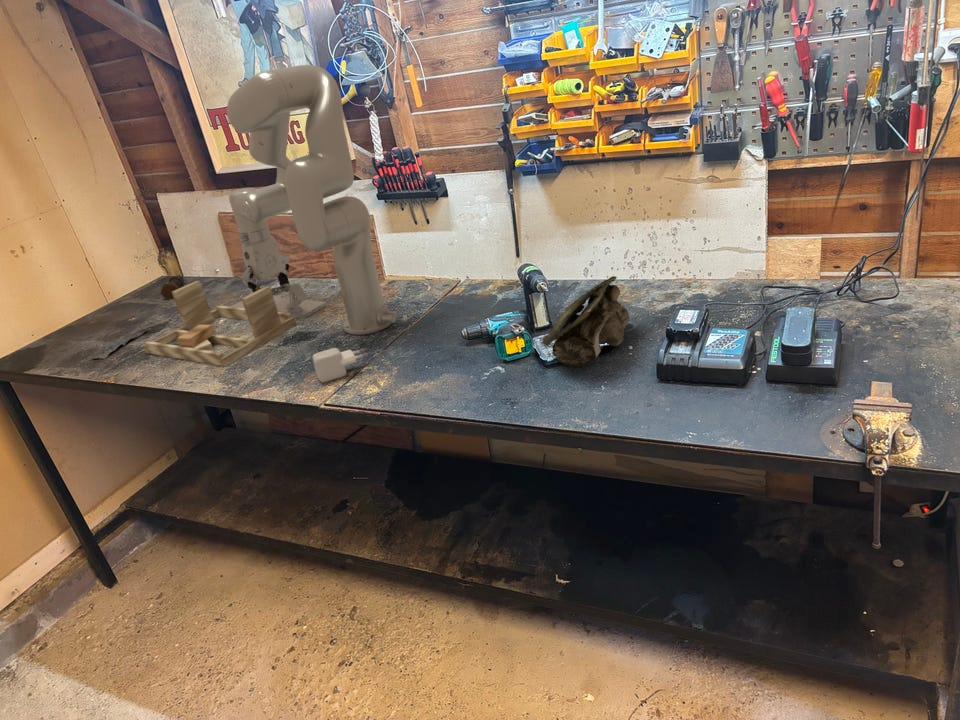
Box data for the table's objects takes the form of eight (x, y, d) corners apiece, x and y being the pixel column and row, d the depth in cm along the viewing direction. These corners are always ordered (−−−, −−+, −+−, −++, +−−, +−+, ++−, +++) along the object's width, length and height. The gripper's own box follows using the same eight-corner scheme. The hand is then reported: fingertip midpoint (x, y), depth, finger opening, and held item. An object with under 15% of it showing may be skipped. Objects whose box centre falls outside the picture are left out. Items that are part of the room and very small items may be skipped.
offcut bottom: (215, 354, 157) (211, 343, 156) (198, 360, 155) (194, 349, 154) (204, 343, 164) (200, 332, 163) (188, 349, 163) (184, 338, 161)
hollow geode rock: (569, 402, 123) (619, 360, 113) (521, 356, 124) (566, 310, 113) (617, 336, 144) (663, 295, 133) (576, 297, 144) (618, 253, 134)
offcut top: (193, 347, 155) (189, 338, 154) (180, 347, 156) (176, 338, 155) (215, 333, 161) (211, 324, 160) (202, 333, 163) (199, 324, 161)
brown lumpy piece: (184, 289, 215) (176, 302, 201) (168, 284, 213) (159, 298, 200) (188, 273, 213) (180, 285, 200) (172, 268, 212) (163, 280, 198)
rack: (296, 324, 167) (284, 280, 161) (225, 366, 149) (208, 319, 143) (219, 315, 181) (205, 275, 176) (146, 352, 163) (128, 309, 158)
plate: (326, 305, 176) (325, 301, 176) (304, 318, 169) (303, 315, 169) (253, 298, 190) (252, 295, 190) (230, 310, 183) (229, 307, 183)
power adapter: (366, 361, 141) (360, 337, 138) (372, 369, 137) (366, 345, 134) (317, 376, 137) (310, 352, 135) (321, 385, 133) (314, 361, 131)
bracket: (300, 302, 171) (279, 270, 170) (262, 327, 185) (242, 298, 184) (308, 298, 174) (288, 266, 172) (270, 323, 188) (251, 293, 186)
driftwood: (104, 362, 163) (101, 355, 162) (83, 362, 165) (80, 355, 164) (159, 328, 180) (156, 322, 179) (140, 329, 182) (137, 322, 181)
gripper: (241, 246, 162) (260, 308, 170) (288, 226, 175) (304, 284, 183) (221, 245, 166) (241, 306, 173) (269, 226, 179) (285, 283, 186)
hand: (273, 295), depth 178 cm, fingers open, 9 cm apart
